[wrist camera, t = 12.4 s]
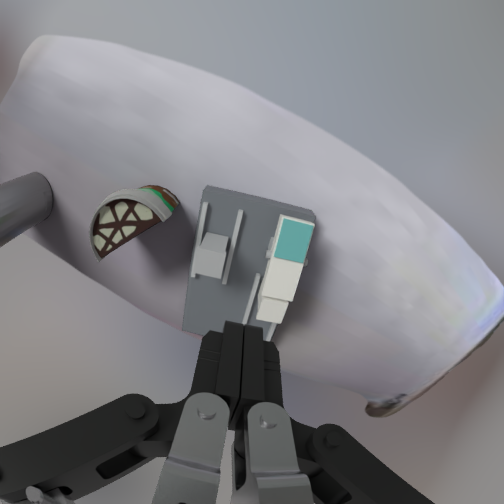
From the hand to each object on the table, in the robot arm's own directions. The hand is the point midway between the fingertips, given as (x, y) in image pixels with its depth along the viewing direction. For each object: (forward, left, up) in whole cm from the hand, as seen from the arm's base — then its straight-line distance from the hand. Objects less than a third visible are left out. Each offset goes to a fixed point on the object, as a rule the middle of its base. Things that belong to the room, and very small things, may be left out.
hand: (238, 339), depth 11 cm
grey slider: (-3, -8, -26) cm, 27 cm away
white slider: (+6, -13, -26) cm, 29 cm away
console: (+2, -13, -29) cm, 32 cm away
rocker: (+6, -6, -22) cm, 24 cm away
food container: (-15, -5, -29) cm, 33 cm away
